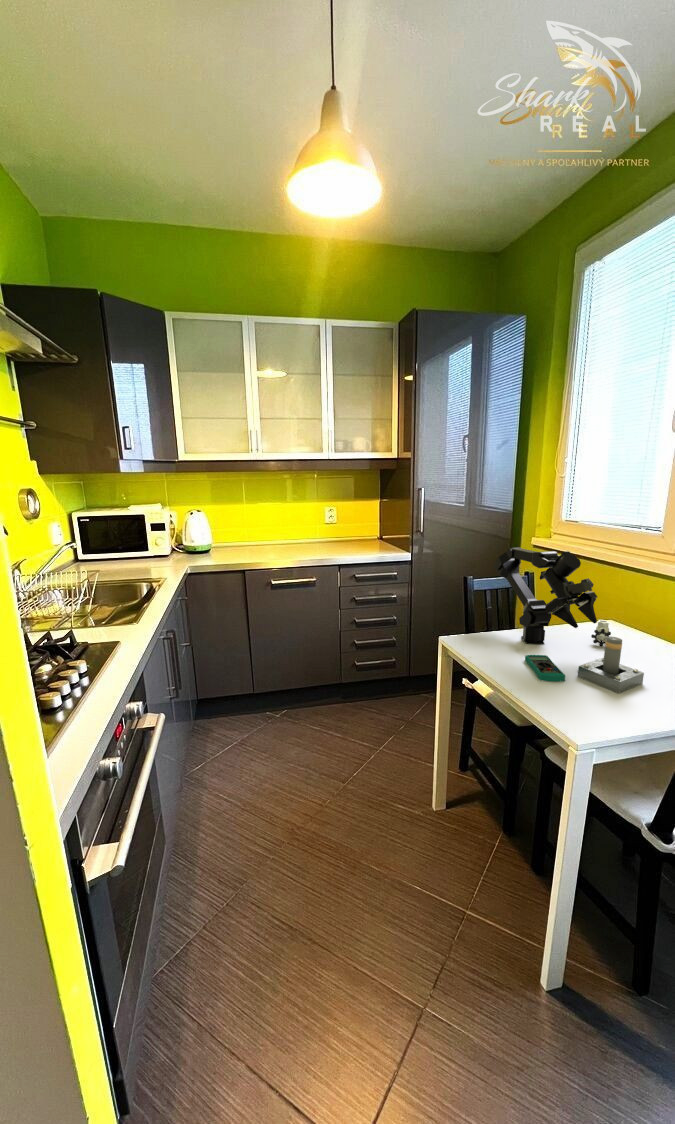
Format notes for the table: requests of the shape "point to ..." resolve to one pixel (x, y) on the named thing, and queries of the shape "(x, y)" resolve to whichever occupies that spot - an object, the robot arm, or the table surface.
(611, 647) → the plug
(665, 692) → the table surface
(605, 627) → the valve
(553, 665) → the digital multimeter
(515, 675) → the table surface
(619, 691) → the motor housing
